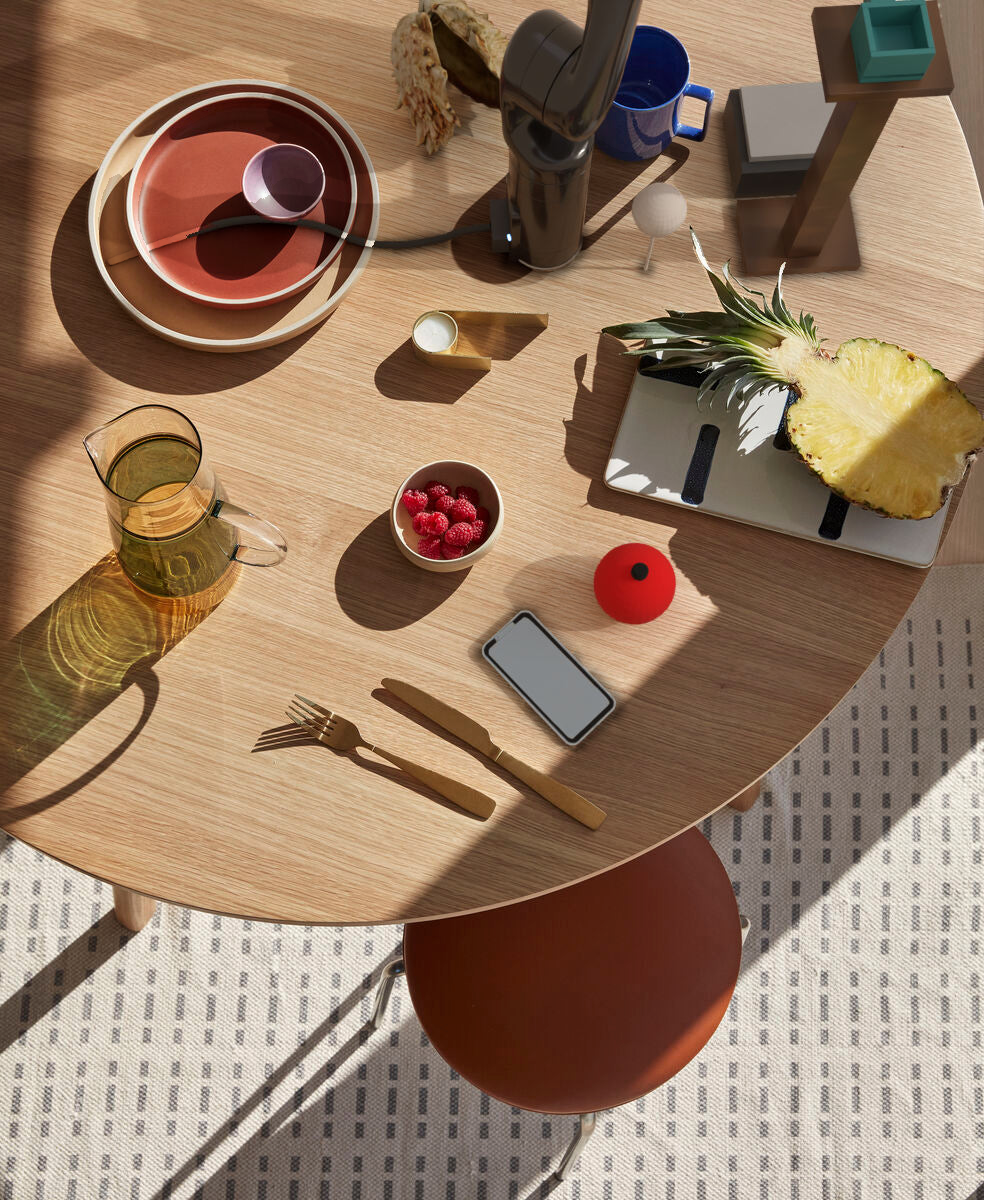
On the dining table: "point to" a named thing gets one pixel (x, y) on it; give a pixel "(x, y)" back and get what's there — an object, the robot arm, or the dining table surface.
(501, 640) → the smartphone
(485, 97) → the seashell
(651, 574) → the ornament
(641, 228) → the lollipop
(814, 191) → the wooden pedestal stand
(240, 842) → the dining table surface
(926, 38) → the scoop
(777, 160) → the scale
